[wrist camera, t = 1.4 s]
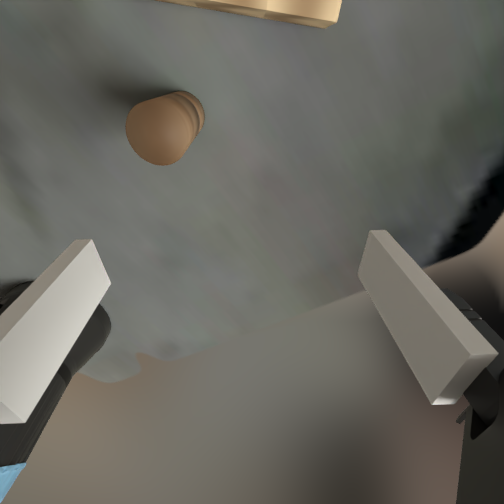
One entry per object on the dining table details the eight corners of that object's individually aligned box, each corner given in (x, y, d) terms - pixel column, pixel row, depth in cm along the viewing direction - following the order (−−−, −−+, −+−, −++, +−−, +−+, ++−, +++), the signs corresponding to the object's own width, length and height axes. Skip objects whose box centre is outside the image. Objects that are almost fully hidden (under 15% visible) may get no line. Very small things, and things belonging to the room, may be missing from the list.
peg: (164, 134, 26) (130, 162, 18) (161, 88, 24) (120, 96, 16) (204, 138, 27) (188, 168, 19) (205, 94, 25) (186, 105, 16)
